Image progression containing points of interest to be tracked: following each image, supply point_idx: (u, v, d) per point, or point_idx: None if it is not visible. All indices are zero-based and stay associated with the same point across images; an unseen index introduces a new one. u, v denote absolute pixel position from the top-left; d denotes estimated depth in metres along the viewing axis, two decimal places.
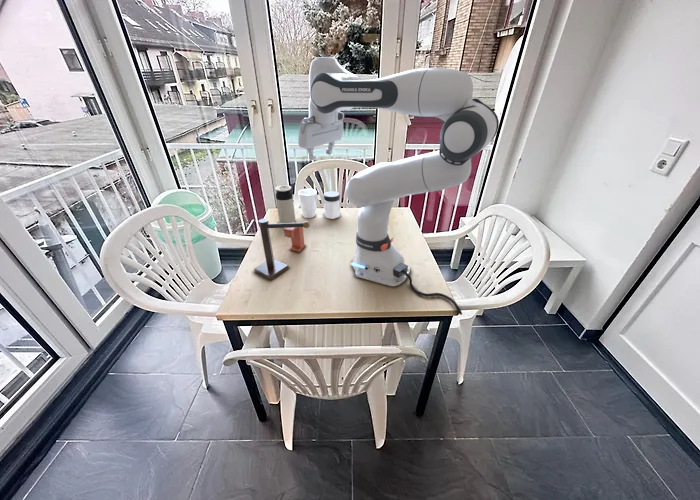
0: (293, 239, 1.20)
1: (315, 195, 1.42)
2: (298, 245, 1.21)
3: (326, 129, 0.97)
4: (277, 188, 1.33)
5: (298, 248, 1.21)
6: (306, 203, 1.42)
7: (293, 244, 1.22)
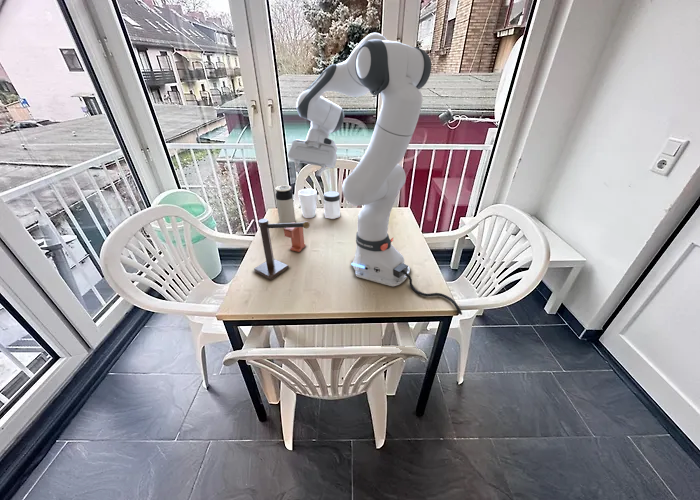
0: (293, 239, 1.20)
1: (315, 195, 1.42)
2: (298, 245, 1.21)
3: (314, 150, 1.15)
4: (277, 188, 1.33)
5: (298, 248, 1.21)
6: (306, 203, 1.42)
7: (293, 244, 1.22)
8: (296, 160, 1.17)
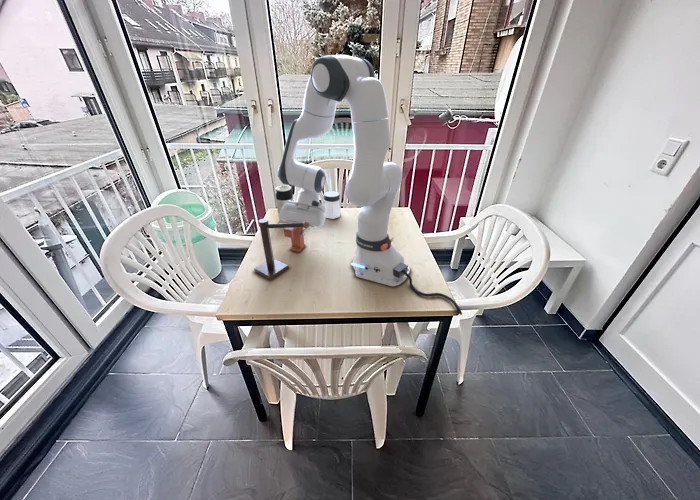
0: (293, 239, 1.20)
1: None
2: (298, 245, 1.21)
3: (303, 211, 1.19)
4: (277, 188, 1.33)
5: (298, 248, 1.21)
6: None
7: (293, 244, 1.22)
8: (290, 222, 1.20)
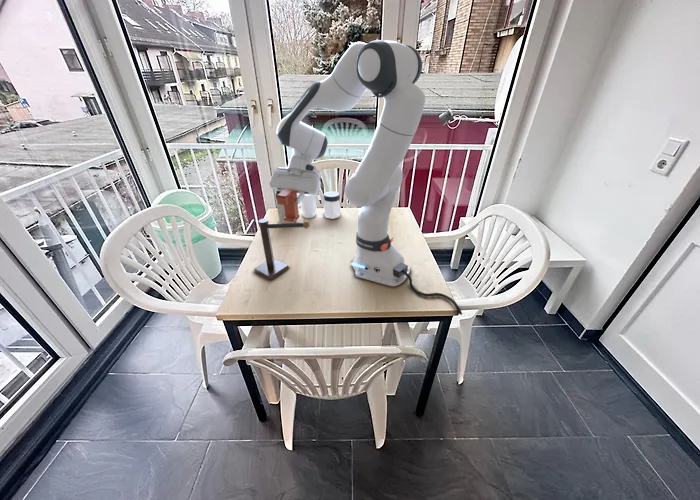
0: (286, 208, 1.10)
1: (315, 195, 1.42)
2: (292, 215, 1.11)
3: (296, 178, 1.09)
4: None
5: (292, 218, 1.11)
6: (306, 203, 1.42)
7: (286, 214, 1.11)
8: (282, 189, 1.10)
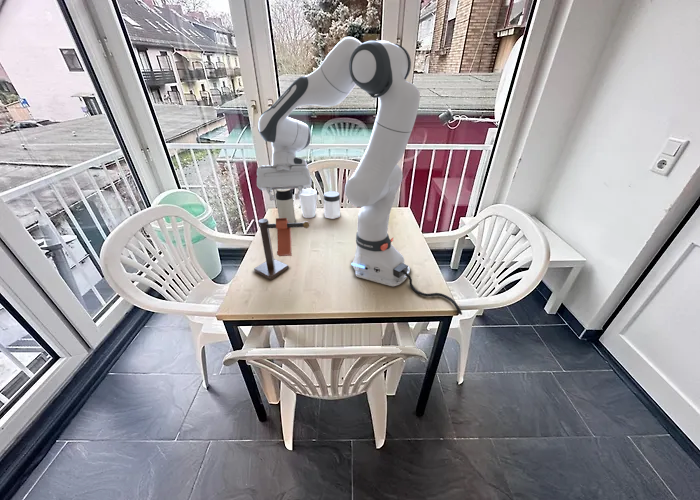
0: (280, 241, 1.00)
1: (315, 195, 1.42)
2: (287, 248, 1.00)
3: (285, 173, 1.06)
4: None
5: (287, 251, 0.99)
6: (306, 203, 1.42)
7: (279, 249, 1.00)
8: (268, 188, 1.06)
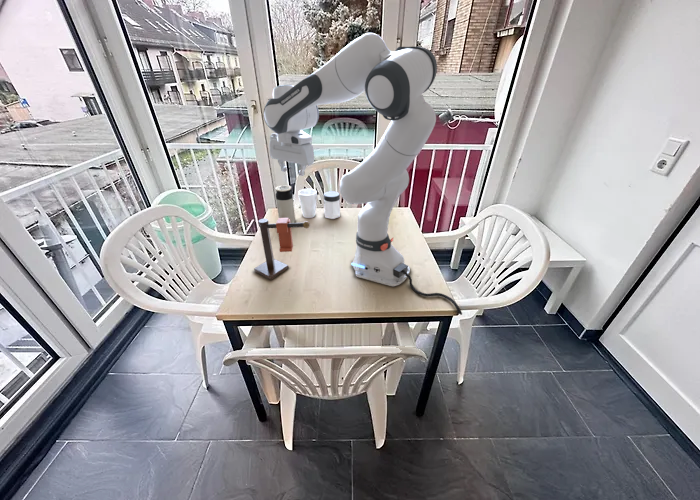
0: (281, 238, 1.04)
1: (315, 195, 1.42)
2: (288, 244, 1.05)
3: (288, 149, 1.05)
4: (277, 188, 1.33)
5: (289, 247, 1.05)
6: (306, 203, 1.42)
7: (281, 245, 1.05)
8: (279, 160, 1.11)
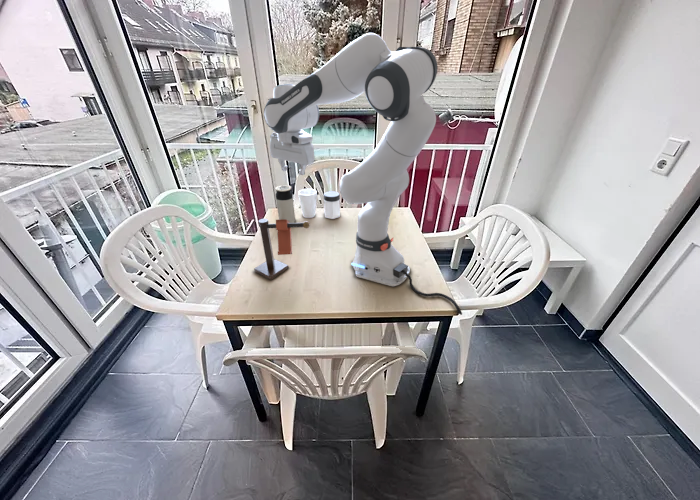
0: (281, 241, 1.01)
1: (315, 195, 1.42)
2: (287, 248, 1.02)
3: (289, 148, 1.05)
4: (277, 188, 1.33)
5: (288, 251, 1.01)
6: (306, 203, 1.42)
7: (280, 248, 1.01)
8: (279, 159, 1.11)
